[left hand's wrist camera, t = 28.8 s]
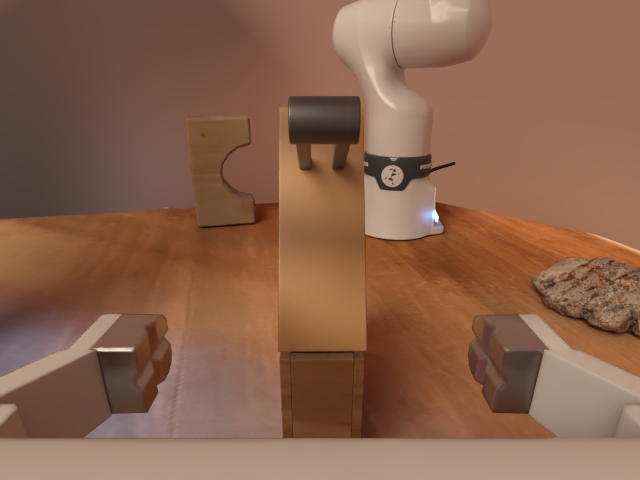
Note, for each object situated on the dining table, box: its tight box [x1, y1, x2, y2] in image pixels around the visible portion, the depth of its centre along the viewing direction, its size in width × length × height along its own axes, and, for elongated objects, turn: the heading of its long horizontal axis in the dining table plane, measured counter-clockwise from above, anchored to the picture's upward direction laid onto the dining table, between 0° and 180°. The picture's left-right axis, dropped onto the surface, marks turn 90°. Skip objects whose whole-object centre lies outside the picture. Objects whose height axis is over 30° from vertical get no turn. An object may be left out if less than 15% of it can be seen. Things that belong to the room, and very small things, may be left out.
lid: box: [278, 96, 367, 352], centre depth 20 cm, size 14×5×9 cm
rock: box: [532, 257, 640, 336], centre depth 47 cm, size 15×10×6 cm
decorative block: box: [186, 116, 256, 228], centre depth 75 cm, size 11×6×20 cm, turn 103°
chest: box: [280, 351, 365, 438], centre depth 31 cm, size 14×5×10 cm, turn 1°
